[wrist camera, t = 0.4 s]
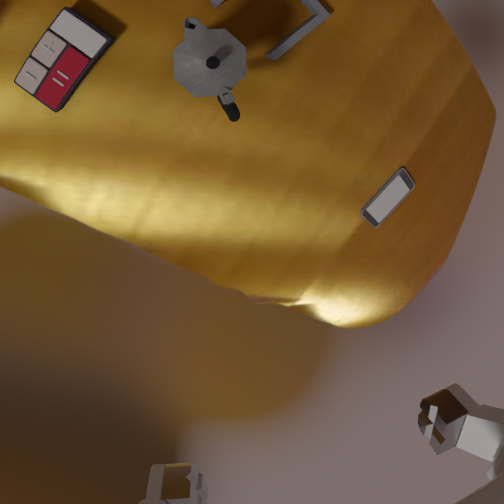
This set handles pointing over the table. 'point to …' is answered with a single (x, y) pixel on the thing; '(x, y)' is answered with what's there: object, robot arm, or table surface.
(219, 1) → the dock
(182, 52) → the coffeepot
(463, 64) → the table surface
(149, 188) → the table surface
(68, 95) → the calculator
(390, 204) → the smartphone
